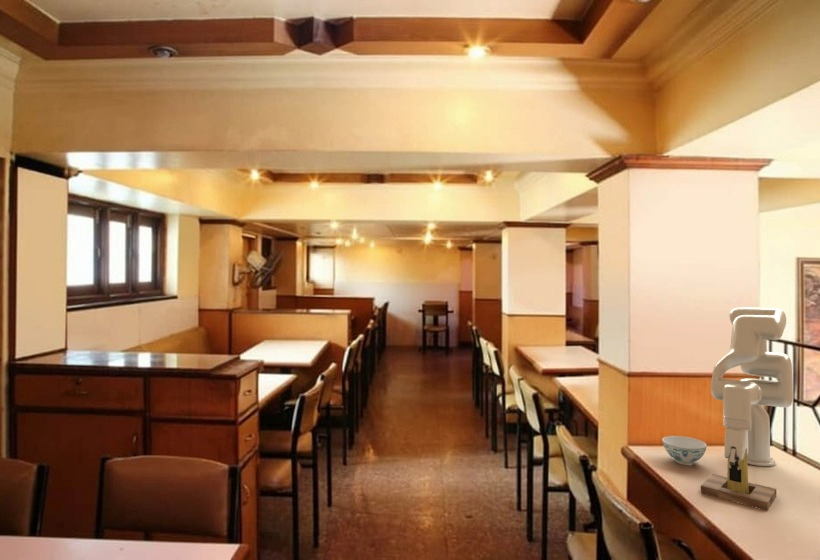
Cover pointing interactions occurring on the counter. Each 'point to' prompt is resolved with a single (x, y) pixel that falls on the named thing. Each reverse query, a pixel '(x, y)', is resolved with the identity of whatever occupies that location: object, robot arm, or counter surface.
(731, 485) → the vase
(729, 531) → the counter surface
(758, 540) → the counter surface
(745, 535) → the counter surface
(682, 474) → the counter surface
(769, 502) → the vase stand
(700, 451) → the chinaware
